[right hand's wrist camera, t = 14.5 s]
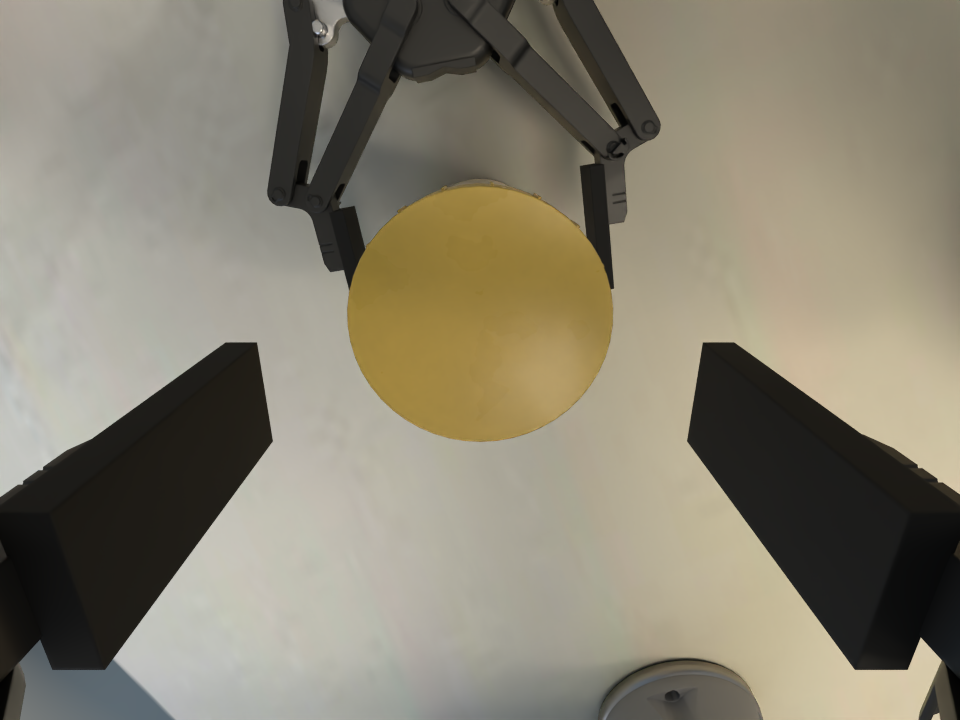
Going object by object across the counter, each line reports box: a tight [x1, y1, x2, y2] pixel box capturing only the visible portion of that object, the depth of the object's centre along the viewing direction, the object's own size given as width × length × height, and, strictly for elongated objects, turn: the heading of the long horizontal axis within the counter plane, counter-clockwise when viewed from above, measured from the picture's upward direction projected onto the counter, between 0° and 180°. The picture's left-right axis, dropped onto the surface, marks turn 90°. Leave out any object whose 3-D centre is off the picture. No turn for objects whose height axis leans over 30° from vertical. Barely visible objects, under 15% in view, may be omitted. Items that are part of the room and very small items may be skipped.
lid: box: [347, 181, 613, 442], centre depth 19 cm, size 9×10×2 cm
